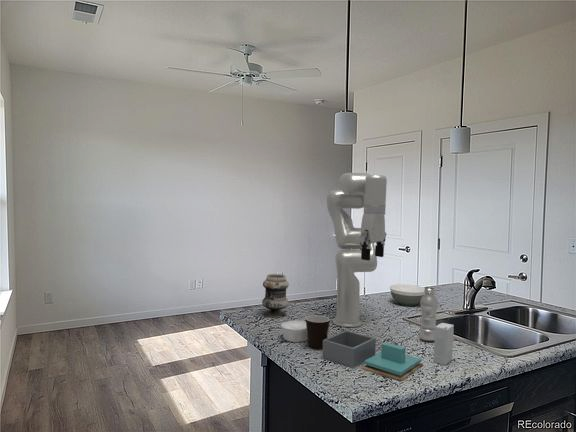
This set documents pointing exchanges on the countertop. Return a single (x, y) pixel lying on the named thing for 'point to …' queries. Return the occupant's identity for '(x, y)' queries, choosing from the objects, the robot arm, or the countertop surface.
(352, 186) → the robot arm
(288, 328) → the ramekin
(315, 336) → the coffee mug
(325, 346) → the tub
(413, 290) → the bowl
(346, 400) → the countertop surface
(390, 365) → the lid
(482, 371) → the countertop surface
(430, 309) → the plastic bottle
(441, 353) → the skincare box
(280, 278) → the apothecary jar
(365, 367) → the wooden board
